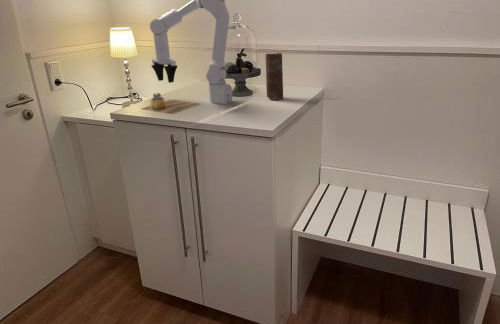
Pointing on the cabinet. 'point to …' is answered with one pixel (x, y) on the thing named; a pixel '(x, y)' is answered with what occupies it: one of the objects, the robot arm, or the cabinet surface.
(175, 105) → the walnut board
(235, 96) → the cabinet surface
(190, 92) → the cabinet surface
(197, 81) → the cabinet surface
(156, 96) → the steel piston
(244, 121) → the cabinet surface
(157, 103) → the wooden barrel ring
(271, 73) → the candle
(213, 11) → the robot arm
